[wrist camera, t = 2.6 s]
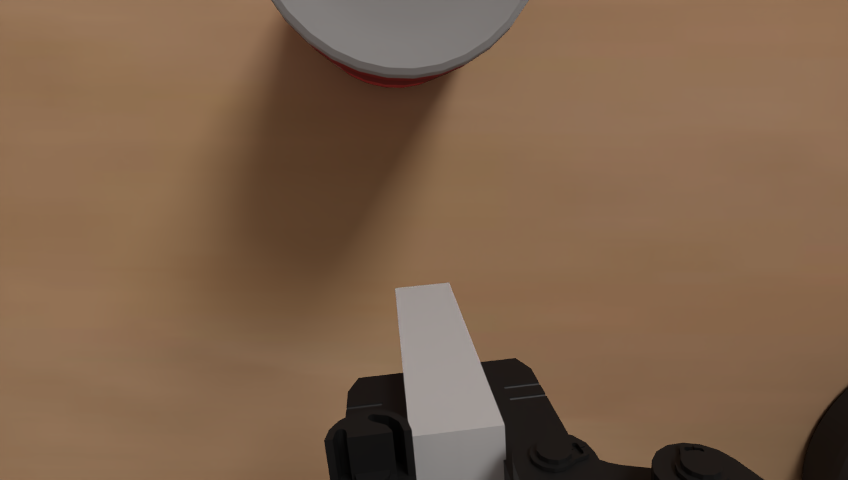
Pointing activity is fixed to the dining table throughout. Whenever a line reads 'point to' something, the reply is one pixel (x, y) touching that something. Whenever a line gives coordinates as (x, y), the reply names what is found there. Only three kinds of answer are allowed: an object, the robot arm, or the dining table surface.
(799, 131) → the dining table surface
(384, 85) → the canned food
